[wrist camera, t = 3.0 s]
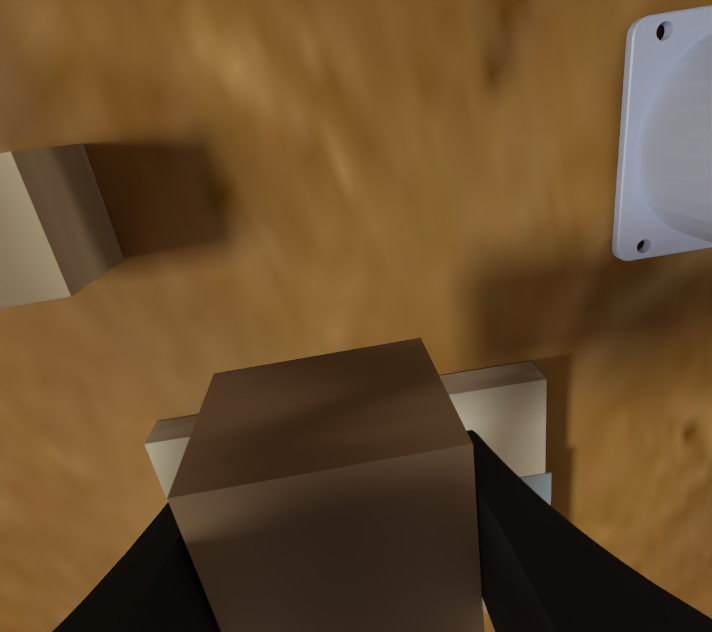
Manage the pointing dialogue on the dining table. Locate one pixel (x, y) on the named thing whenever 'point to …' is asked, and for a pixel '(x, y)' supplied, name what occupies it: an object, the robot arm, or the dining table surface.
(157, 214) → the dining table surface
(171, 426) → the base board
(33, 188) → the oak cube
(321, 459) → the walnut block
